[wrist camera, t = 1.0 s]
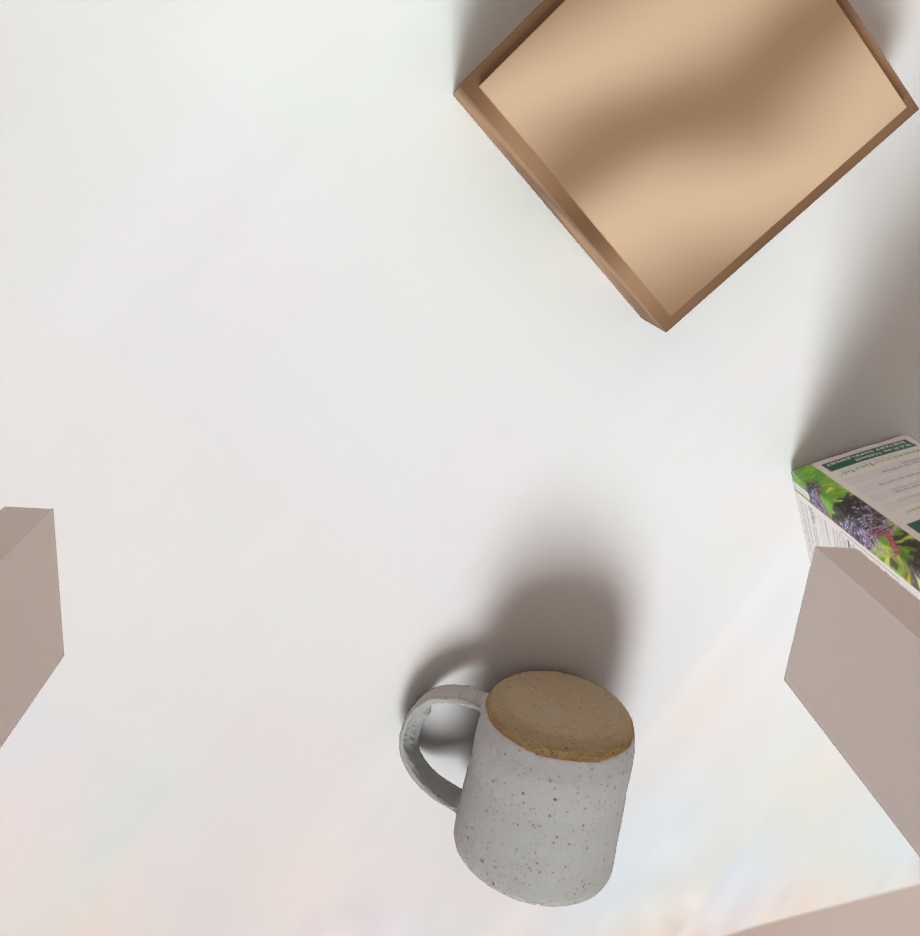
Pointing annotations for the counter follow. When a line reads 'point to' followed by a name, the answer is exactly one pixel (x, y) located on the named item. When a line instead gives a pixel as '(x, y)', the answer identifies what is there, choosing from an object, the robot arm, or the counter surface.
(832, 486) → the syrup box
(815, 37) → the walnut plinth
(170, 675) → the counter surface
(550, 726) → the ceramic mug
